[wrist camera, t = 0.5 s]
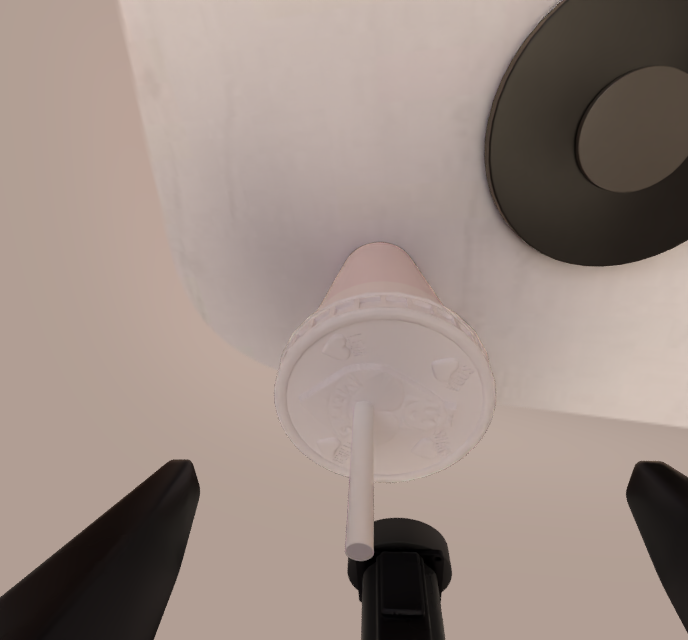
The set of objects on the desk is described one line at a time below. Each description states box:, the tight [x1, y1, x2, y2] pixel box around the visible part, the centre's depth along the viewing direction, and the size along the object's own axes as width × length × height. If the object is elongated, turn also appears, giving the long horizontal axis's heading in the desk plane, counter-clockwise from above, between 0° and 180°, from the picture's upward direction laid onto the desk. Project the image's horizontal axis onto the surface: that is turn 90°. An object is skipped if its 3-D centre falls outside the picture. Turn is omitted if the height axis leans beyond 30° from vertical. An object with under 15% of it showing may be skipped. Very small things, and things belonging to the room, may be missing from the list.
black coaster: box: [485, 0, 688, 266], centre depth 16 cm, size 11×11×1 cm
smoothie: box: [274, 242, 496, 561], centre depth 14 cm, size 6×6×14 cm
